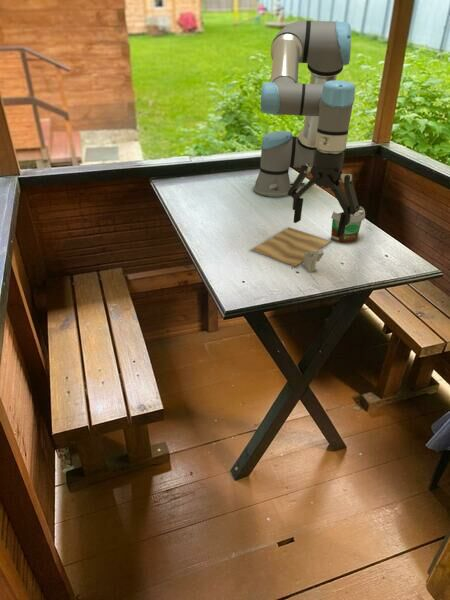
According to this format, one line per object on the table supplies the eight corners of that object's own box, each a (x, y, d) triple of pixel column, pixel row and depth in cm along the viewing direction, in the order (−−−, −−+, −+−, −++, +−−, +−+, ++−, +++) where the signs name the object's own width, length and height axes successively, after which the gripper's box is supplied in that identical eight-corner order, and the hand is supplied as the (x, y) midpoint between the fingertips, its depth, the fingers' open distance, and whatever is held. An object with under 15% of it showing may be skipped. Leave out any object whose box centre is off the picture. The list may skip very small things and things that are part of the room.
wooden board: (288, 228, 155) (289, 227, 155) (329, 241, 147) (330, 241, 146) (252, 250, 140) (252, 249, 140) (295, 266, 132) (295, 266, 132)
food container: (339, 247, 143) (344, 219, 138) (327, 240, 148) (332, 212, 142) (368, 240, 148) (374, 212, 142) (355, 233, 152) (361, 205, 147)
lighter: (302, 265, 133) (305, 241, 129) (307, 264, 134) (310, 240, 129) (315, 276, 128) (319, 251, 123) (320, 275, 128) (324, 250, 124)
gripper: (279, 143, 115) (273, 220, 126) (370, 163, 102) (353, 246, 114) (294, 138, 120) (287, 212, 131) (383, 156, 107) (366, 236, 119)
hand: (318, 228), depth 122 cm, fingers open, 13 cm apart
